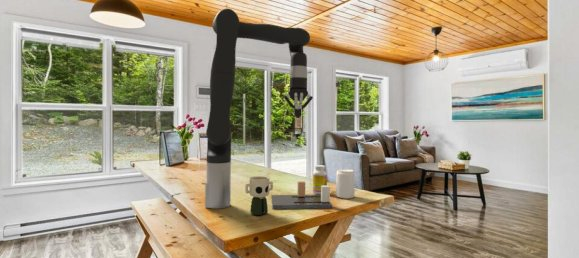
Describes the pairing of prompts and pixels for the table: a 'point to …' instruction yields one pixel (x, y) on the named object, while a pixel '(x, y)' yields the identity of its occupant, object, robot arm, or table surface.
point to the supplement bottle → (319, 178)
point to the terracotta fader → (301, 189)
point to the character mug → (259, 193)
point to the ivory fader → (325, 193)
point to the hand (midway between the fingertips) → (297, 117)
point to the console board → (298, 202)
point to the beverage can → (345, 183)
